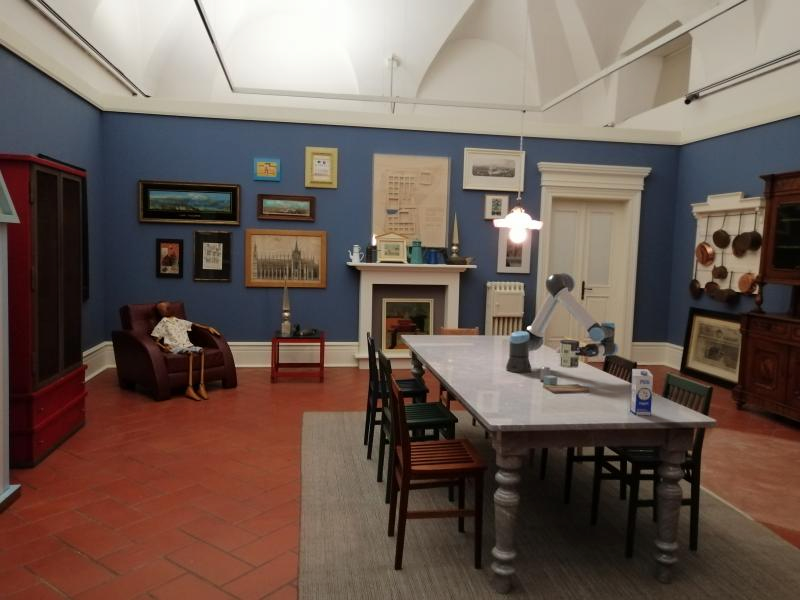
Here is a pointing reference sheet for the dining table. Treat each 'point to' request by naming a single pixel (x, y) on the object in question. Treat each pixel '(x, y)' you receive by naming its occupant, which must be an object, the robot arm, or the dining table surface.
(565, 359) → the coffee can
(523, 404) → the dining table surface
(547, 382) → the teal cube
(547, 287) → the robot arm
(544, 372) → the metal cylinder
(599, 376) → the dining table surface
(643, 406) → the milk carton
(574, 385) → the walnut board
